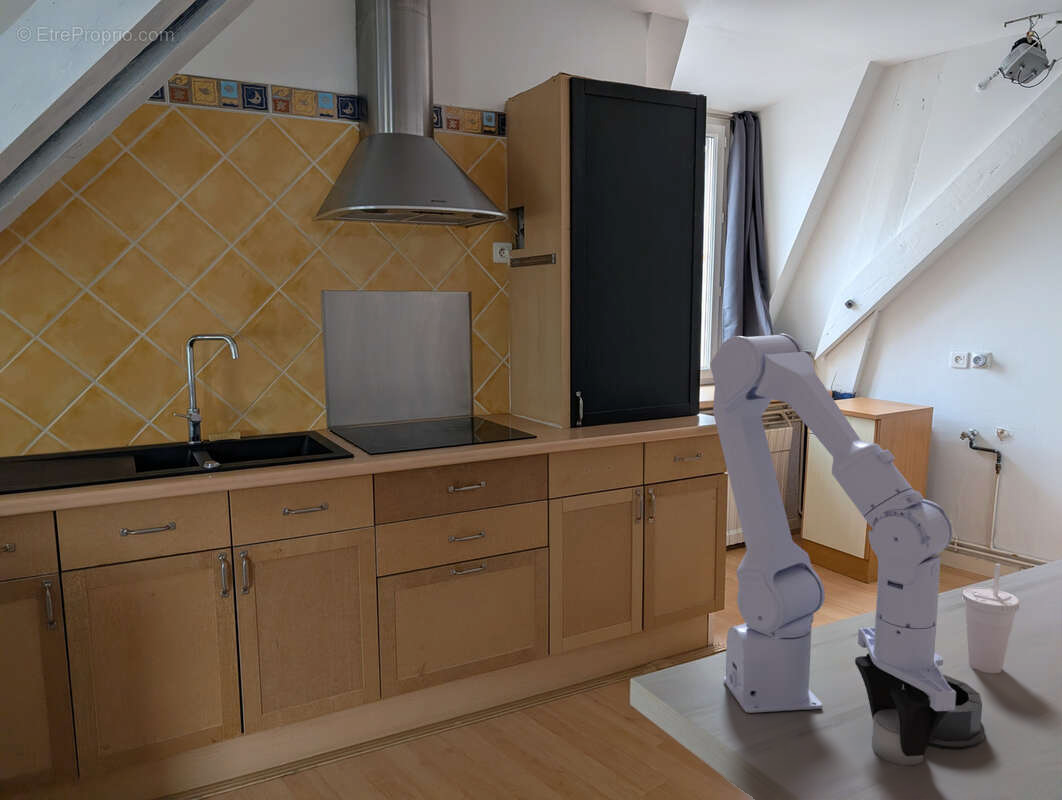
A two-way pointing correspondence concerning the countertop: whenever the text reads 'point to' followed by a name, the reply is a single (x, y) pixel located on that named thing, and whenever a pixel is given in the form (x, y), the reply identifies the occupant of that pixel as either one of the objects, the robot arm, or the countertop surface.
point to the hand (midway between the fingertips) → (898, 738)
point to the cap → (890, 738)
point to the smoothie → (988, 624)
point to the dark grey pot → (959, 719)
